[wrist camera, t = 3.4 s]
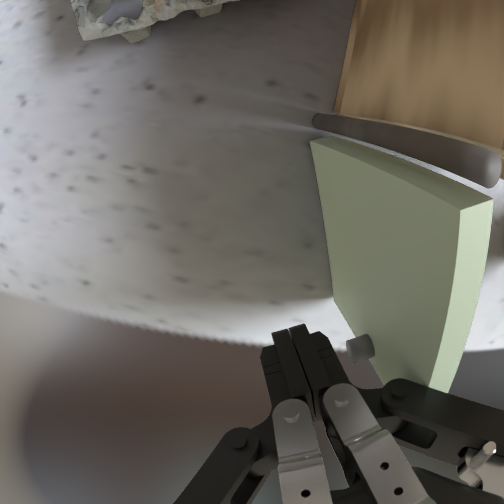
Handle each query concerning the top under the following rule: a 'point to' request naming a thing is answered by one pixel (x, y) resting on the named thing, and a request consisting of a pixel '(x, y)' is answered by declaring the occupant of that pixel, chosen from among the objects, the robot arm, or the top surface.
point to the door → (402, 259)
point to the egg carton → (153, 9)
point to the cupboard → (426, 83)
